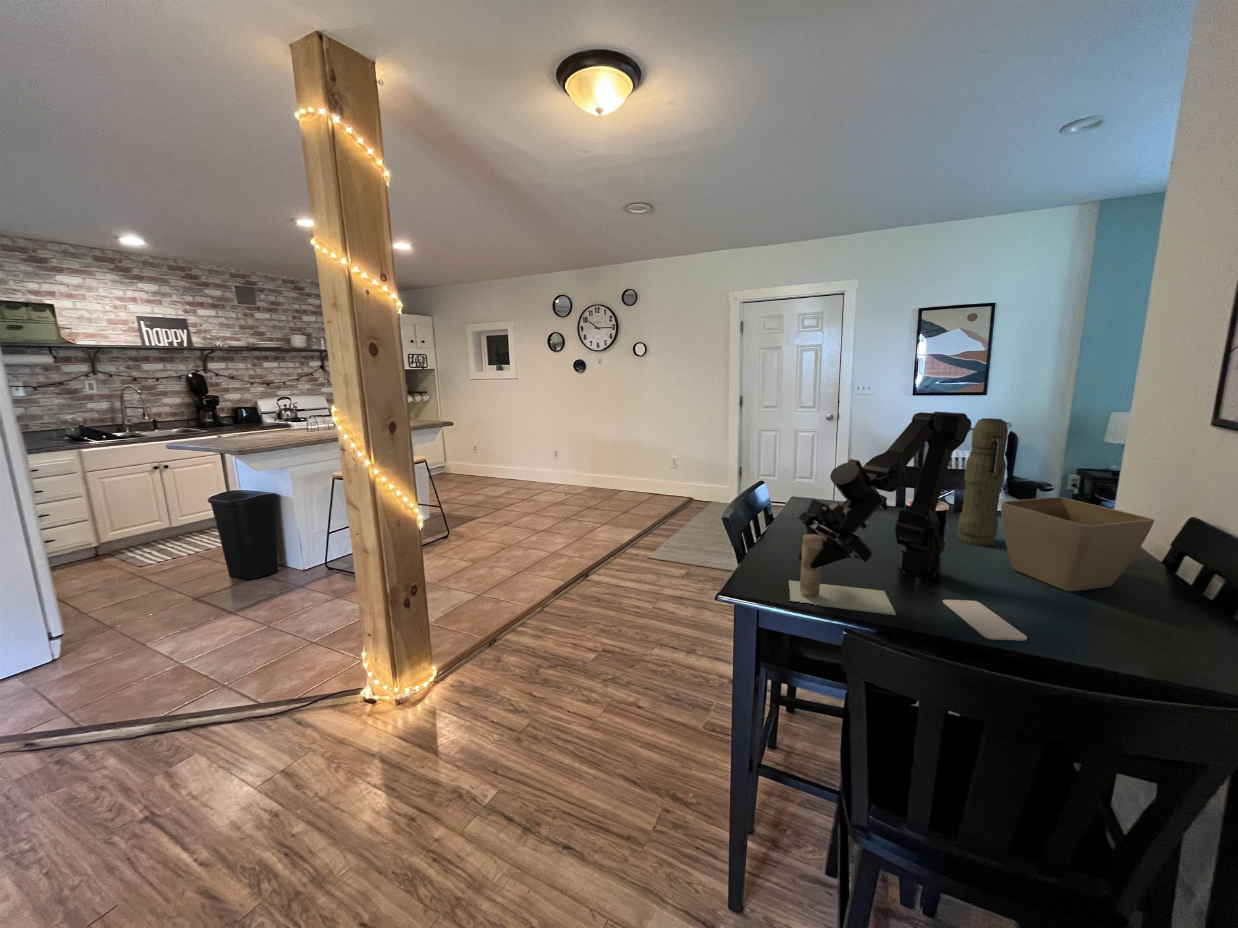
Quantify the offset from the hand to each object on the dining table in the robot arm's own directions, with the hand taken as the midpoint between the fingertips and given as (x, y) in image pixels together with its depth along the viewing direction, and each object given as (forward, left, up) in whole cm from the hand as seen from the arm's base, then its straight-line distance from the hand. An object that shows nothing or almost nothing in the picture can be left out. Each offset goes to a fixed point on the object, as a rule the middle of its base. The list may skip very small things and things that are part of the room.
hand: (805, 563), depth 103 cm
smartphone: (-33, 0, -8) cm, 34 cm away
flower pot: (-58, -27, -8) cm, 64 cm away
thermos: (-49, -51, -8) cm, 71 cm away
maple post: (-1, -1, -7) cm, 7 cm away
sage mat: (-7, -2, -8) cm, 11 cm away
